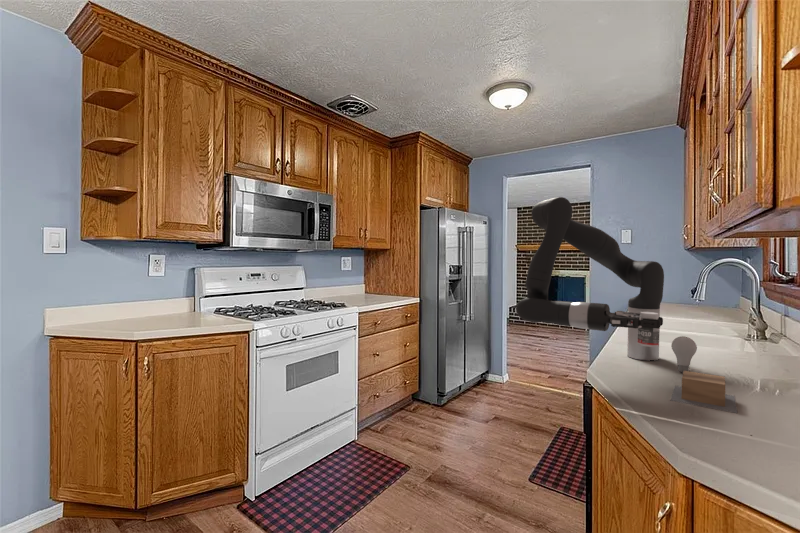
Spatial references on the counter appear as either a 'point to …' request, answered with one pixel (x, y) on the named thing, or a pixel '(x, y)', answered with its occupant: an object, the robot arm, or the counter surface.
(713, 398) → the walnut block
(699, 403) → the mat
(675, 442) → the counter surface
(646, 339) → the pill bottle
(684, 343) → the lightbulb
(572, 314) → the robot arm
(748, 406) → the counter surface
